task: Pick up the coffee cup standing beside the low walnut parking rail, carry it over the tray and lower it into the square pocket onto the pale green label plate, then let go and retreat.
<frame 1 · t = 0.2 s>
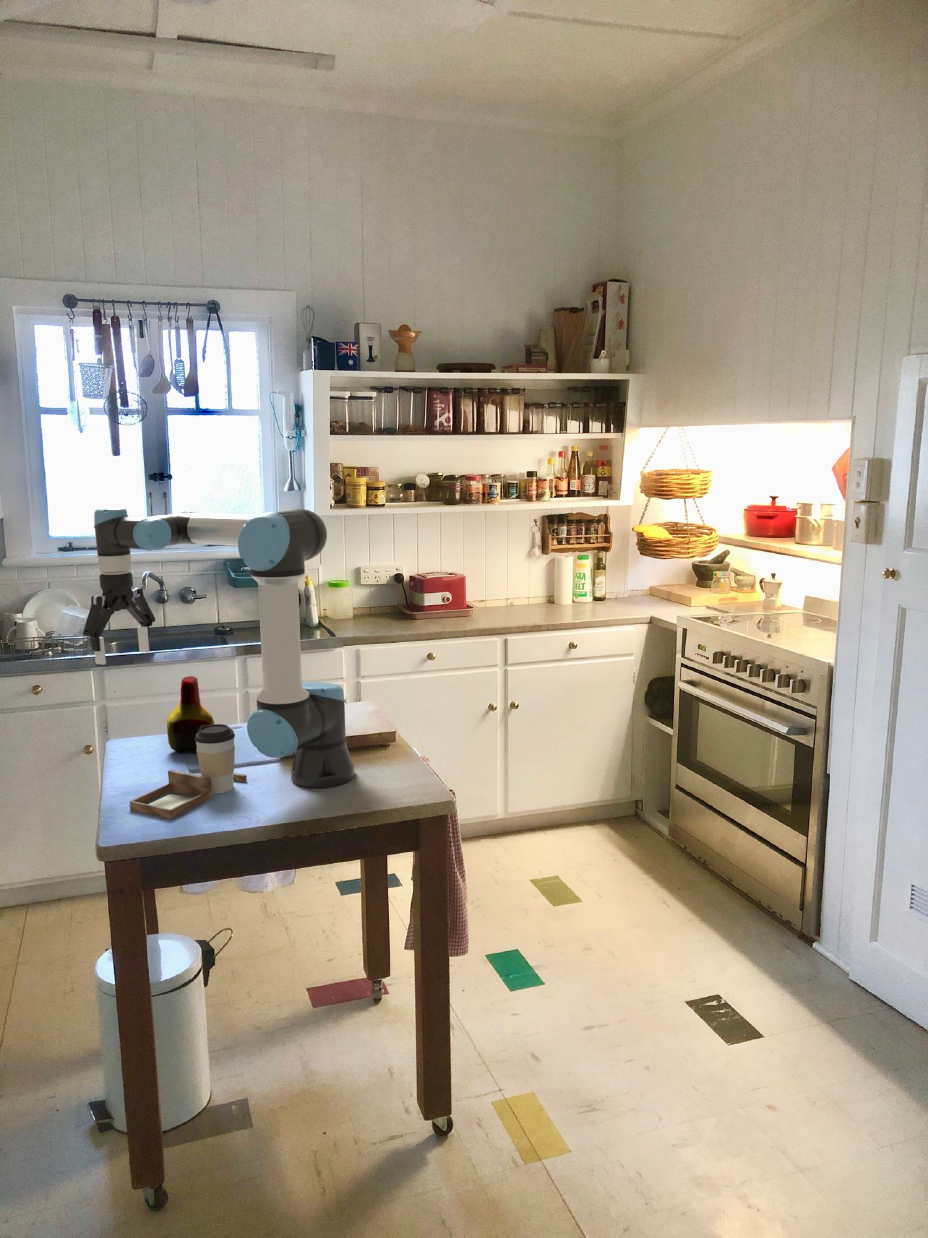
hand: (123, 657, 233), 28 cm above the table, fingers open, 13 cm apart
tray: (171, 804, 213), on the table
bottle: (192, 751, 248), on the table
parking rail: (225, 777, 229), on the table
coffee cup: (218, 789, 222), on the table
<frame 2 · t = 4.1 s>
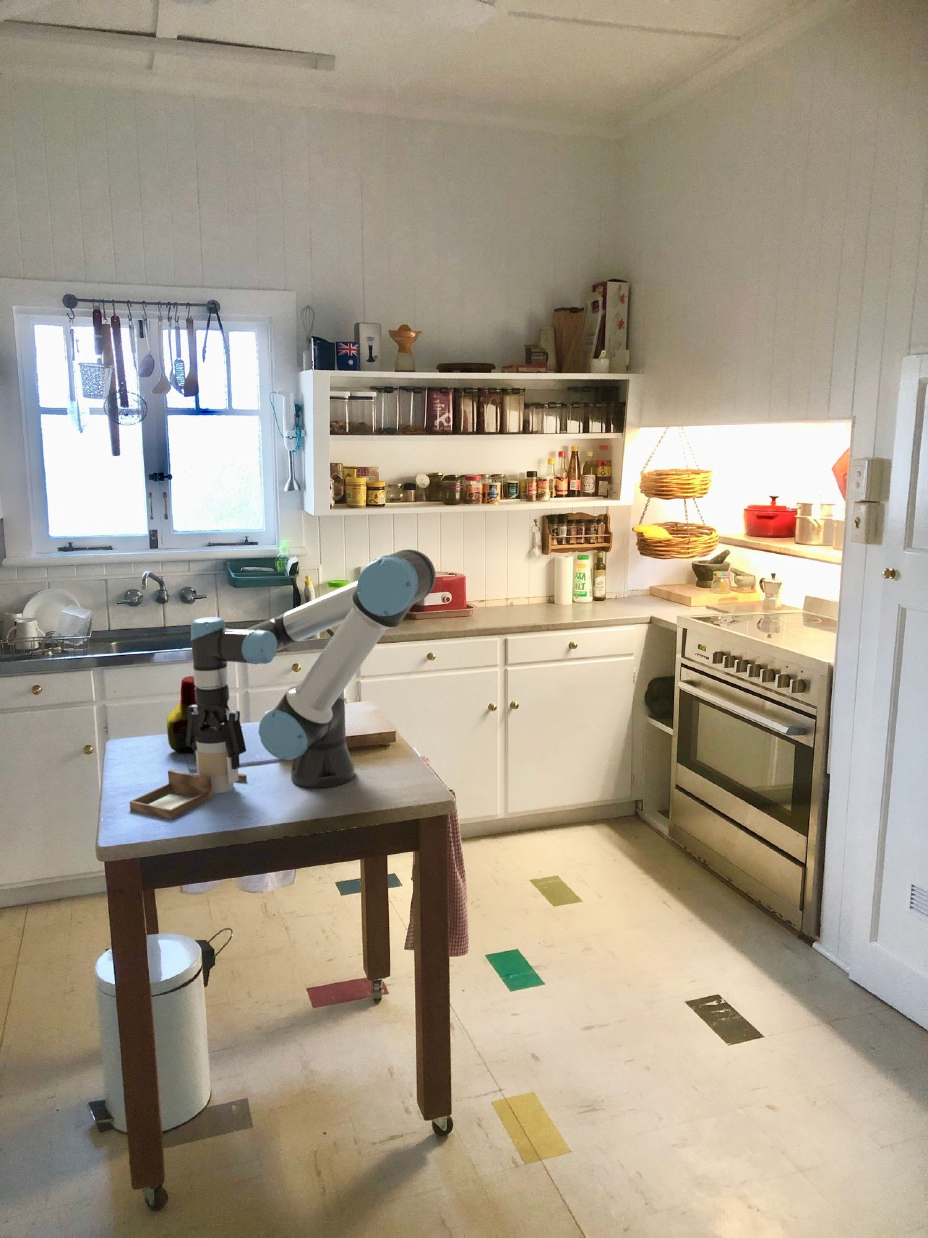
hand: (217, 778, 222), 2 cm above the table, fingers closed on coffee cup, 9 cm apart
coffee cup: (218, 789, 222), on the table, touching gripper
everything else where it was.
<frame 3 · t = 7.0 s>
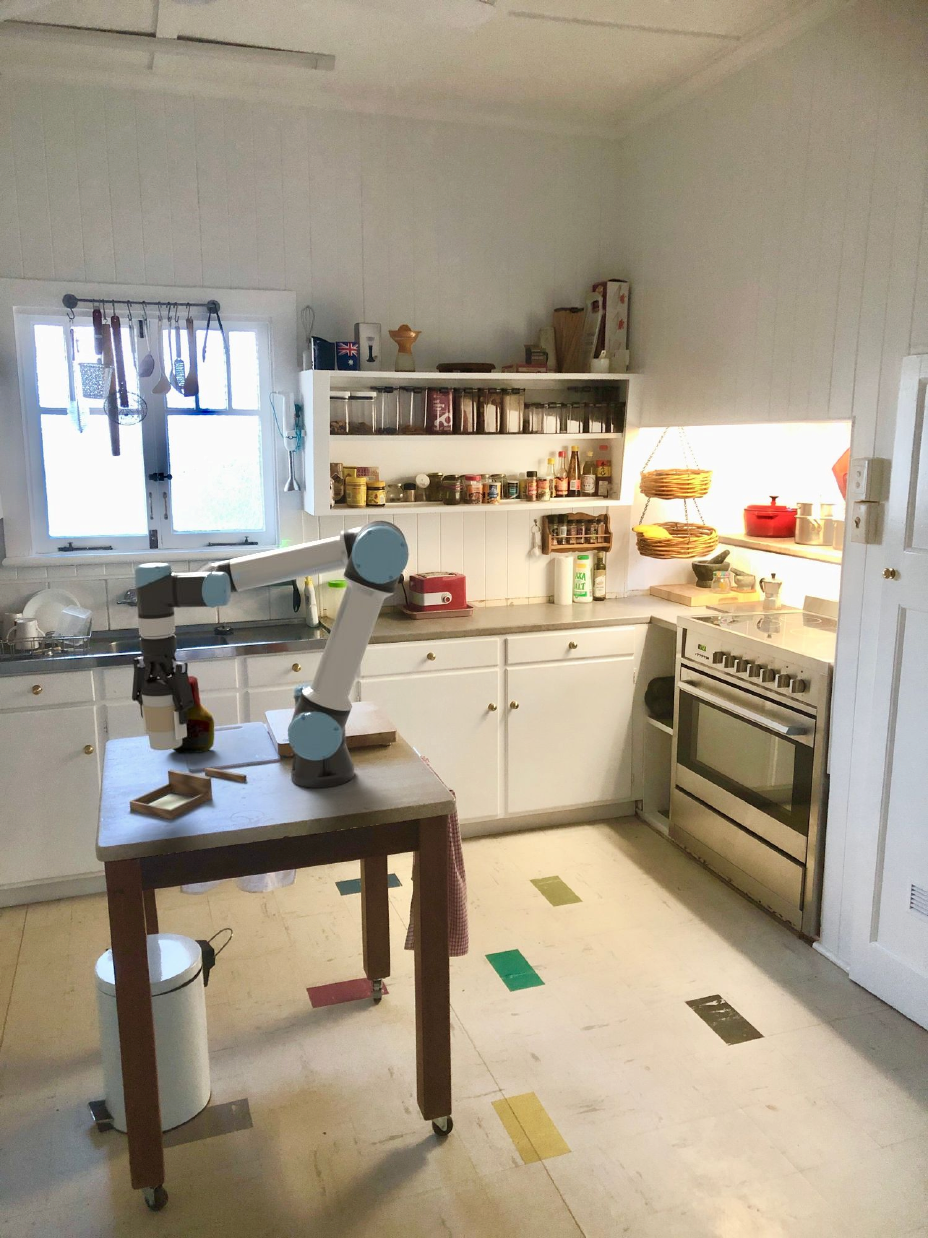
hand: (165, 735, 210), 16 cm above the table, fingers closed on coffee cup, 9 cm apart
coffee cup: (166, 746, 210), point 14 cm above the table, touching gripper
everything else where it was.
when the fingers open (4 cm above the table, at t = 10.0 s): coffee cup drops 1 cm, resting on tray.
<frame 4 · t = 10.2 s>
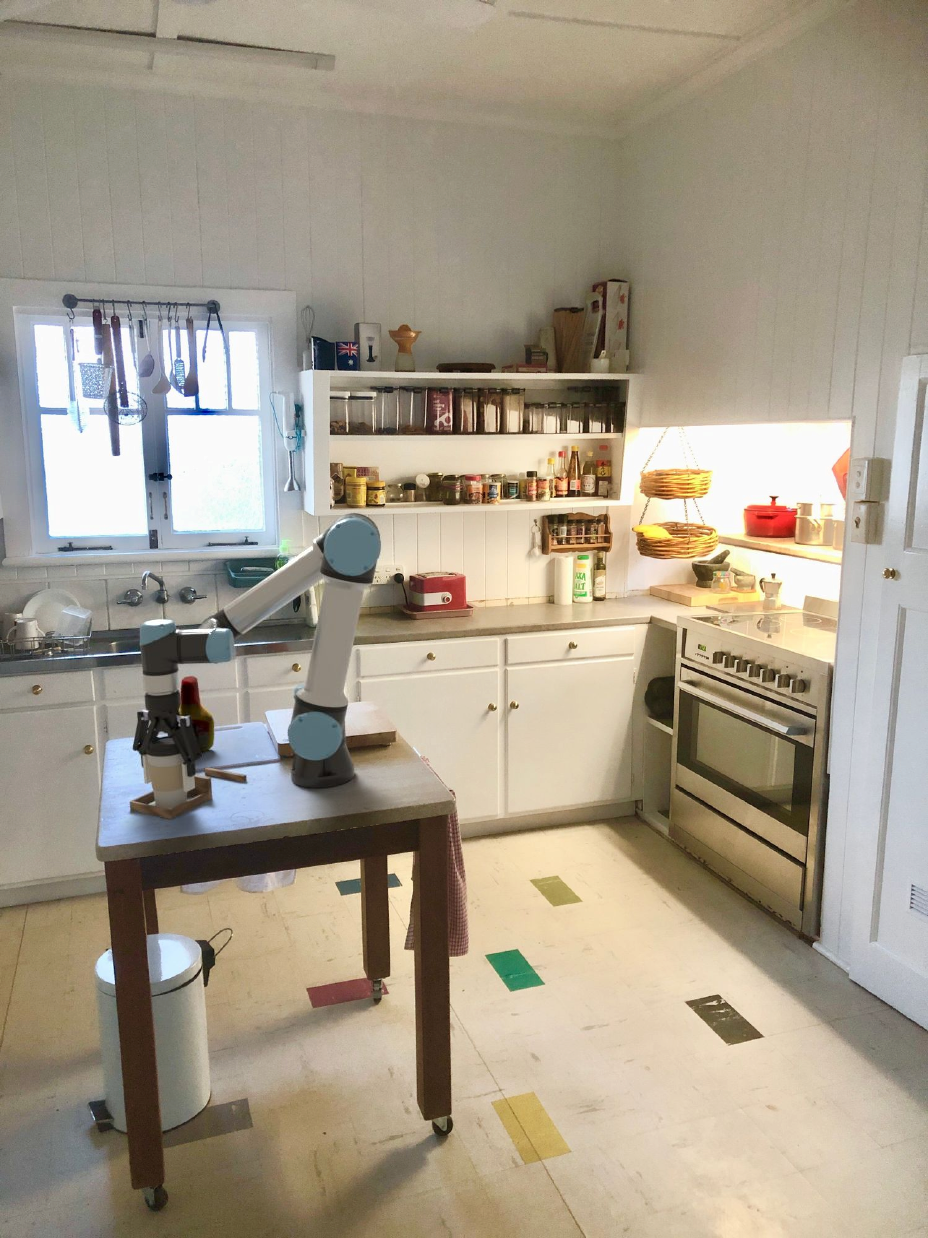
hand: (169, 785, 212), 4 cm above the table, fingers open, 11 cm apart
coffee cup: (171, 803, 213), resting on tray
everything else where it was.
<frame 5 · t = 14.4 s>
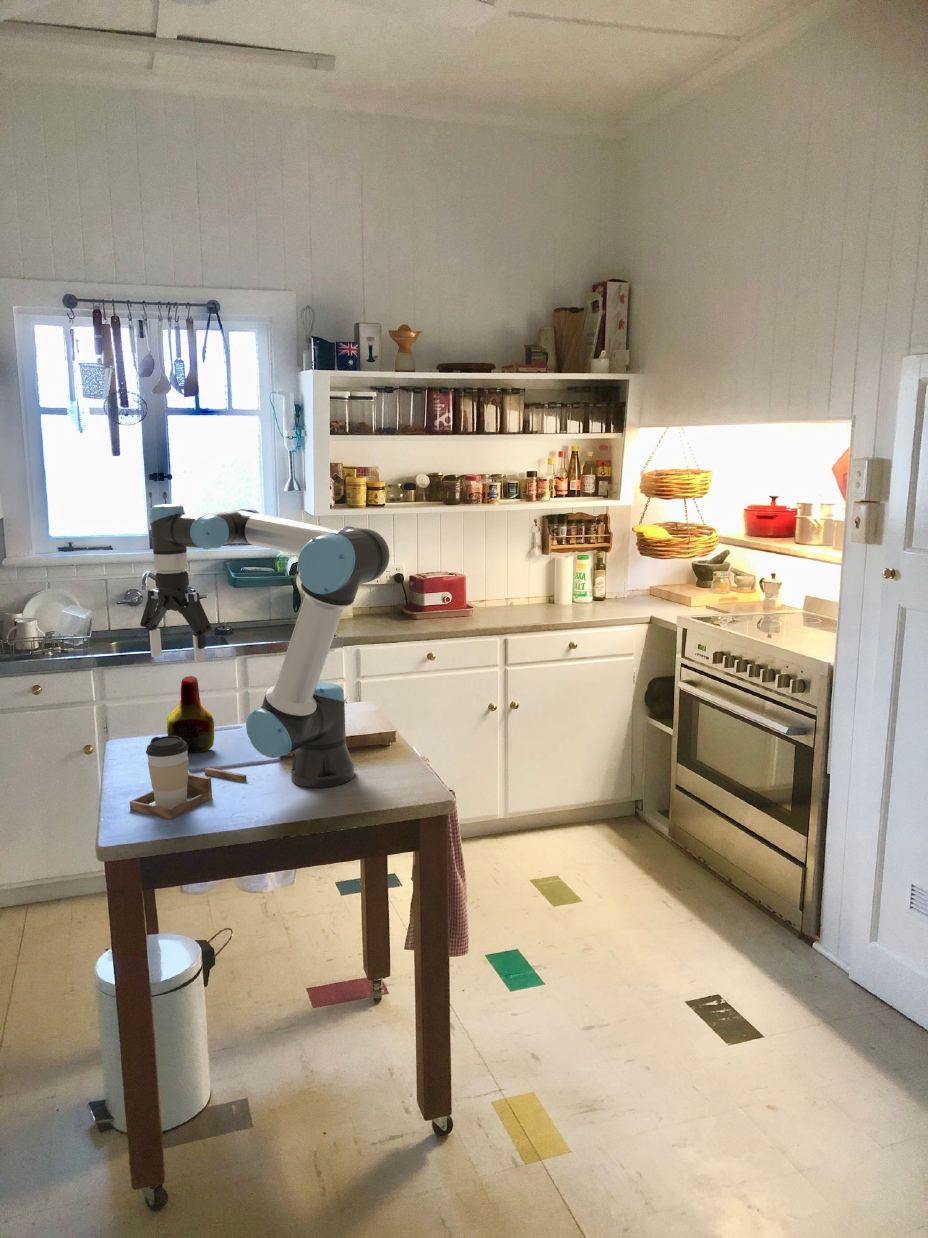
hand: (178, 659, 227), 29 cm above the table, fingers open, 13 cm apart
nothing on the table moved.
at the end: coffee cup 0.1 cm off-centre on the tray, point 0.2 cm above the tray's base; coffee cup tilted 0°; the gripper is holding nothing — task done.
